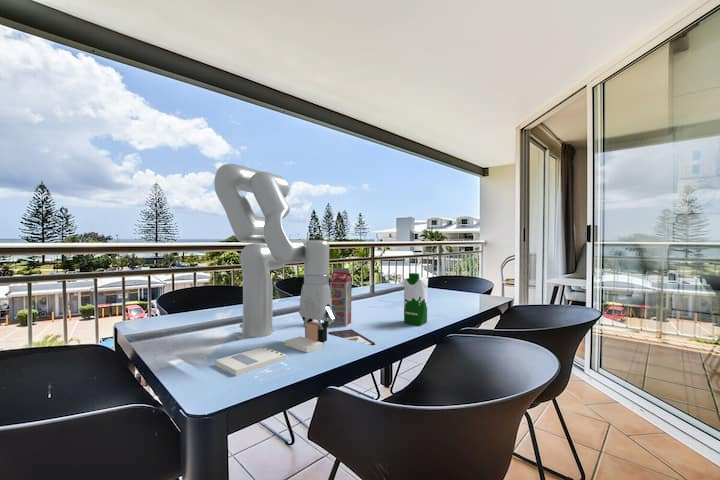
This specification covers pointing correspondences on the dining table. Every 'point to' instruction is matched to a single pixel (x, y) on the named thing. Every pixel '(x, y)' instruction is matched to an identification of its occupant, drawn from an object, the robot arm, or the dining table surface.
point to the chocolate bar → (352, 336)
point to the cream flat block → (249, 360)
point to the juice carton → (341, 296)
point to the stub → (307, 339)
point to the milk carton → (415, 299)
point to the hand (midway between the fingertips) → (315, 339)
